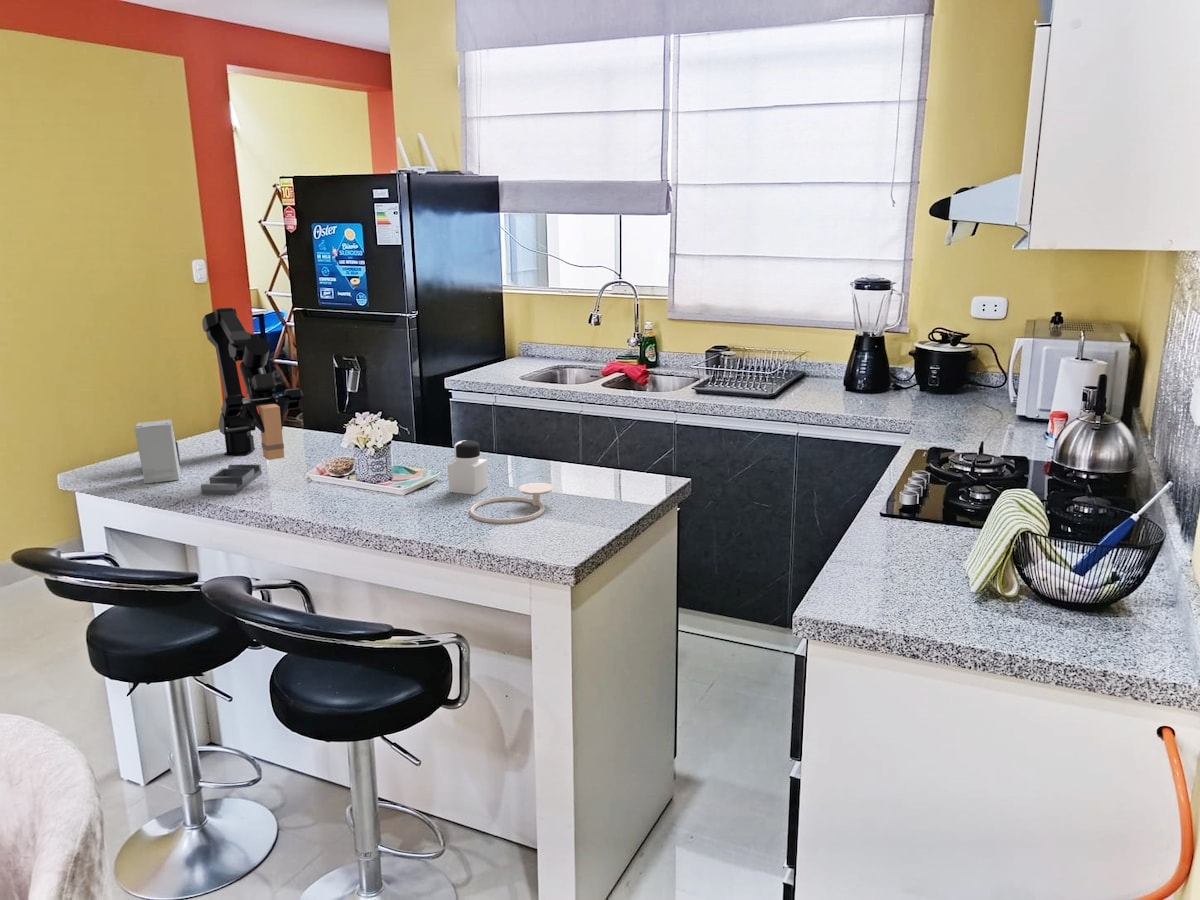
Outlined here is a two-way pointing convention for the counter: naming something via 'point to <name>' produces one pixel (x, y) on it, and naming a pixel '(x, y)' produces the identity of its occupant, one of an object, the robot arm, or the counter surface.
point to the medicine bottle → (467, 469)
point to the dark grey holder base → (231, 479)
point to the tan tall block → (271, 431)
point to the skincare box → (157, 451)
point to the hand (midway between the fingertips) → (272, 430)
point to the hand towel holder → (530, 489)
